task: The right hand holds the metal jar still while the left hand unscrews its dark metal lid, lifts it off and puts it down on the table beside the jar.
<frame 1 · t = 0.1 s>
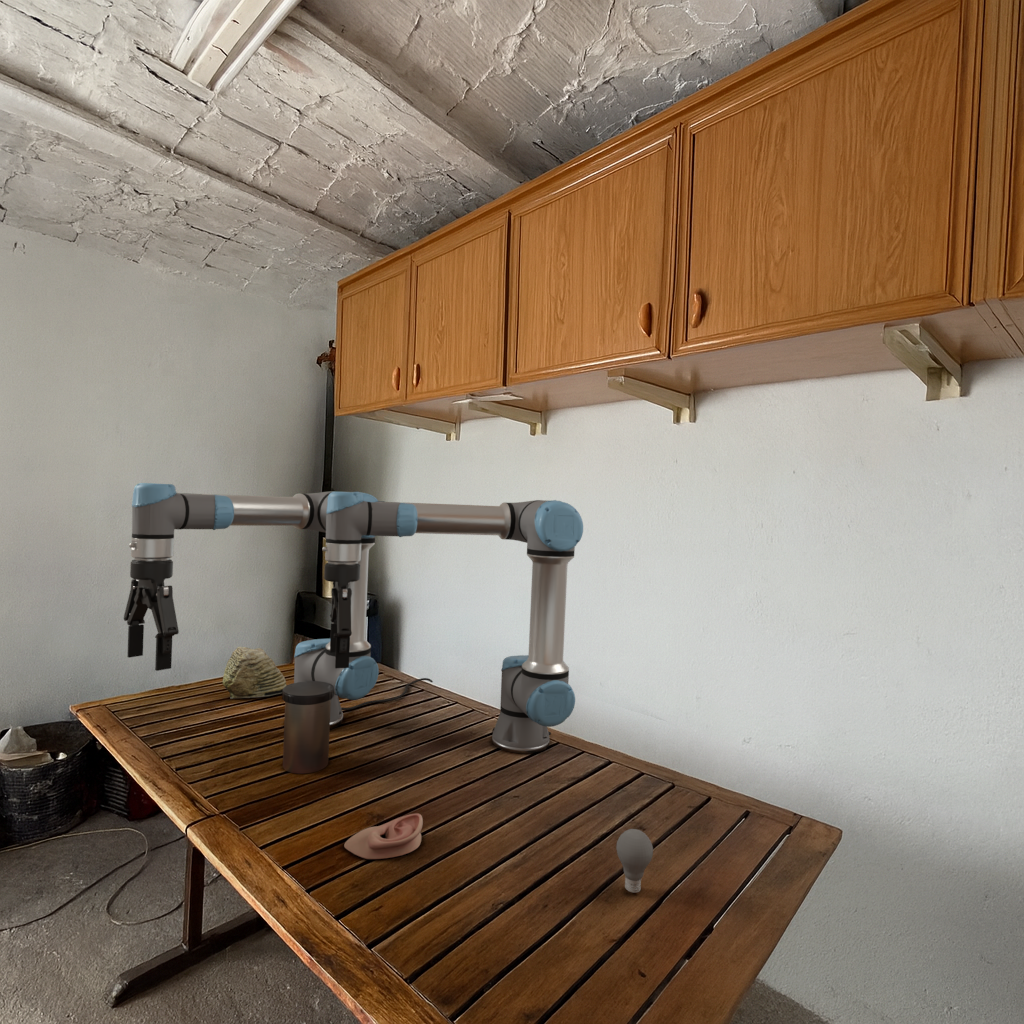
left hand: (148, 662, 129), 28 cm above the table, tool pointing down, fingers open, 13 cm apart
right hand: (338, 659, 138), 28 cm above the table, tool pointing down, fingers open, 13 cm apart
lid: (308, 689, 149), point 18 cm above the table, screwed on, not yet turned
anatomical model: (383, 844, 117), on the table
fossil: (254, 694, 198), on the table
light bulb: (632, 891, 106), on the table
jar: (305, 764, 149), on the table
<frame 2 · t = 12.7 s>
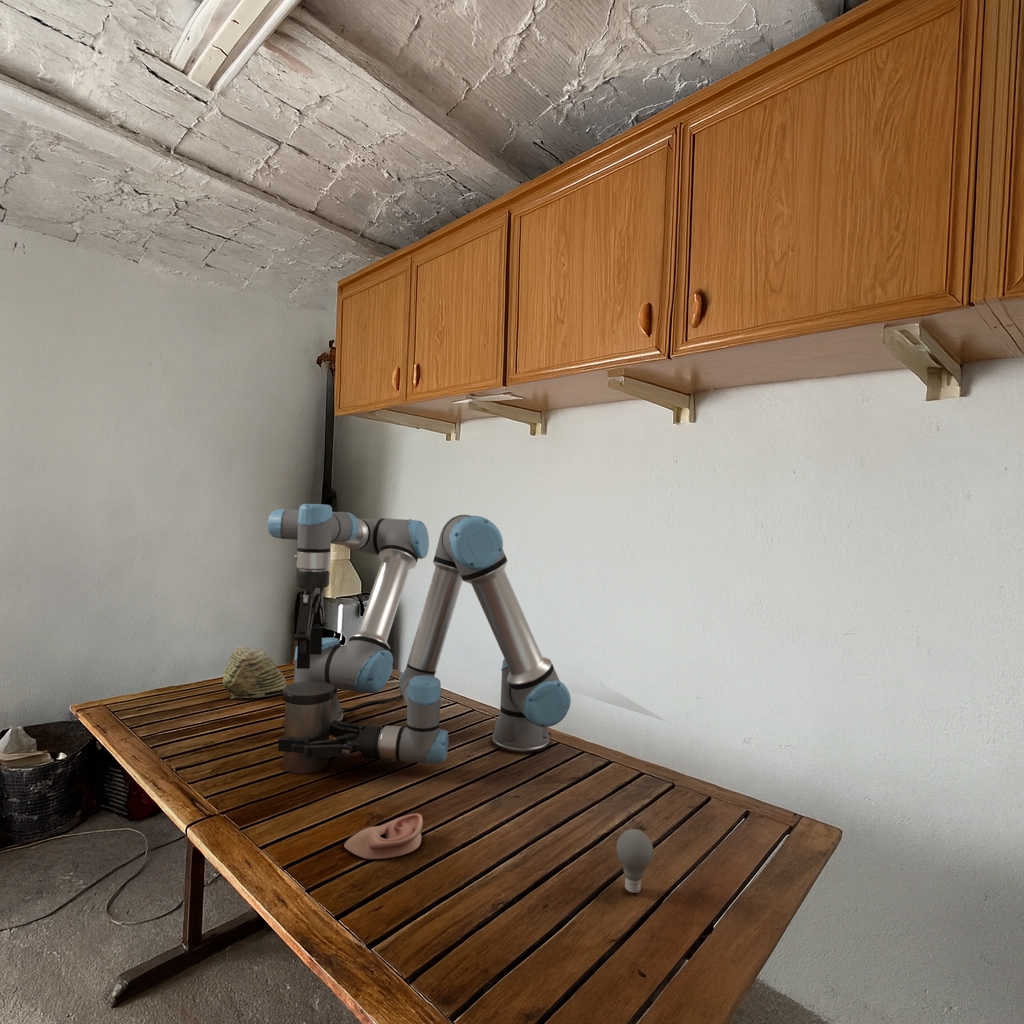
left hand: (309, 661, 149), 25 cm above the table, tool pointing down, fingers open, 12 cm apart
right hand: (289, 735, 150), 7 cm above the table, tool horizontal, fingers closed on jar, 10 cm apart
jar: (305, 764, 149), on the table, touching right hand
everything else where it was.
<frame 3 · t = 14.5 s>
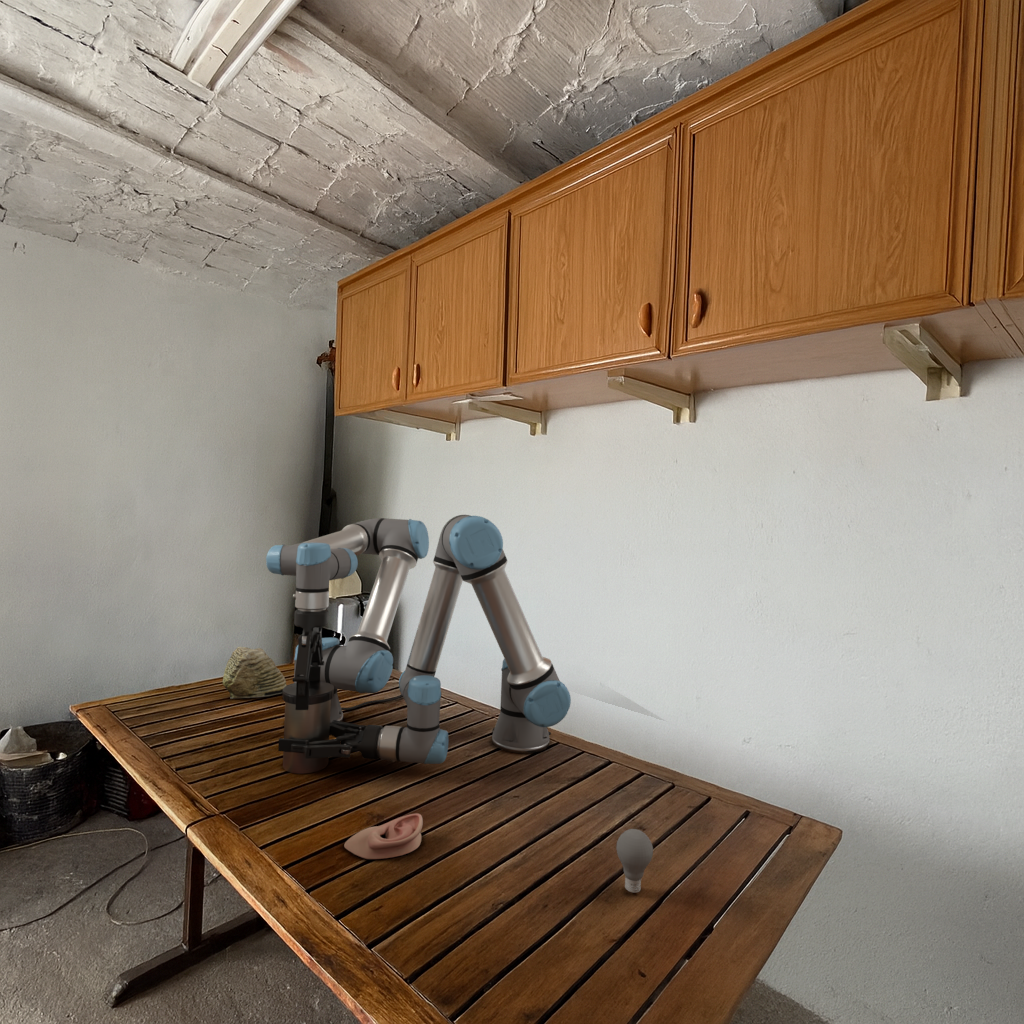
left hand: (308, 701, 149), 15 cm above the table, tool pointing down, fingers closed on lid, 11 cm apart
right hand: (289, 735, 150), 6 cm above the table, tool horizontal, fingers closed on jar, 10 cm apart
lid: (308, 689, 149), point 18 cm above the table, screwed on, not yet turned, touching left hand
jar: (305, 764, 149), on the table, touching right hand
everything else where it was.
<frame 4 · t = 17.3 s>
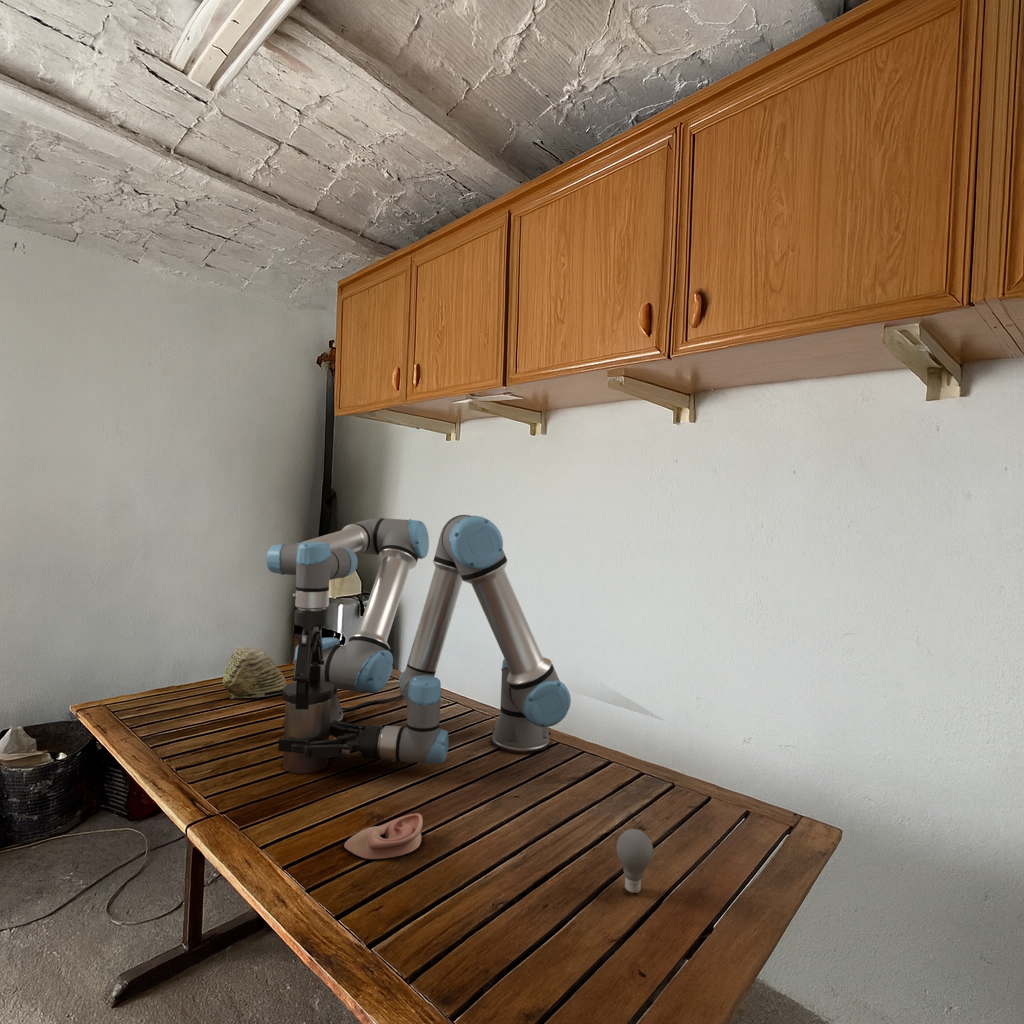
left hand: (308, 700, 149), 15 cm above the table, tool pointing down, fingers closed on lid, 11 cm apart
right hand: (289, 735, 150), 6 cm above the table, tool horizontal, fingers closed on jar, 10 cm apart
lid: (308, 688, 149), point 18 cm above the table, turned 79° so far, risen 0.2 cm, still on its thread, touching left hand
jar: (305, 764, 149), on the table, touching right hand
everything else where it was.
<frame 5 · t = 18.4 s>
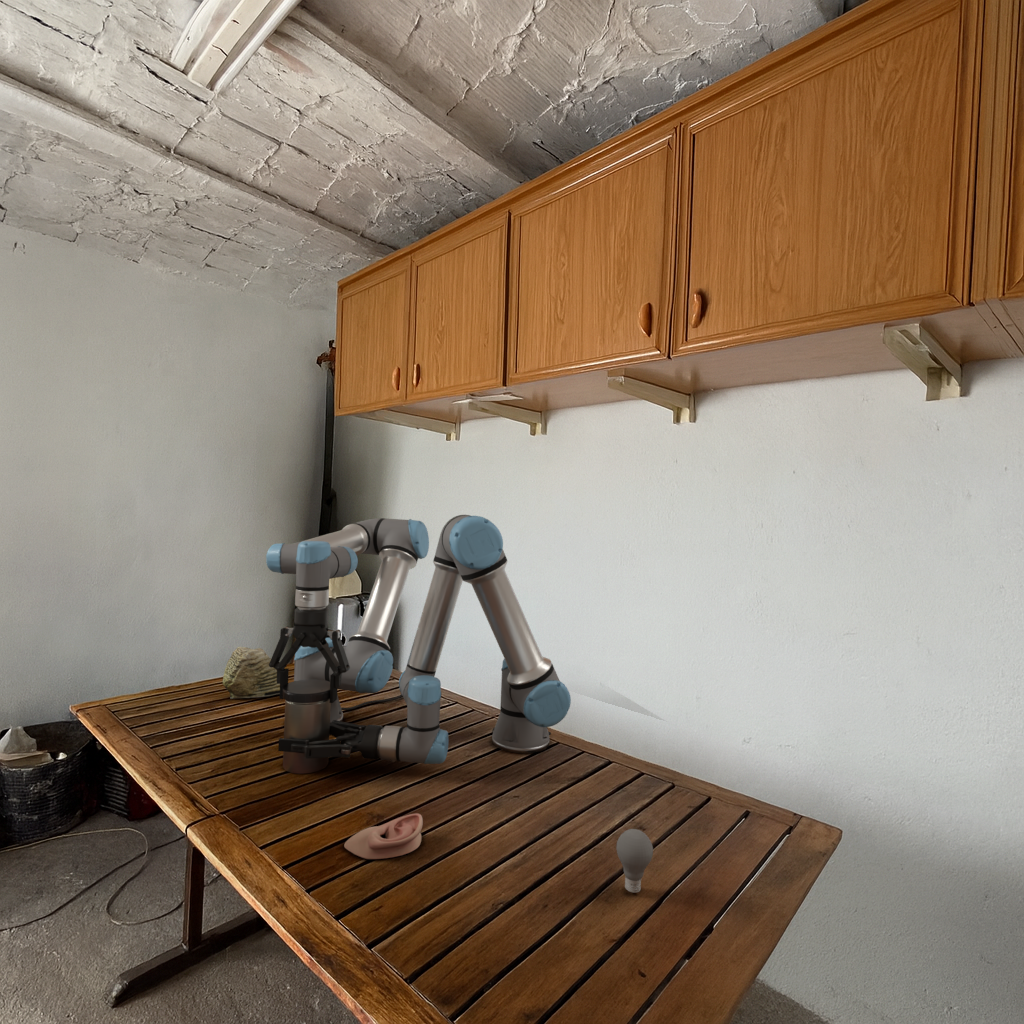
left hand: (308, 699, 149), 15 cm above the table, tool pointing down, fingers closed on lid, 11 cm apart
right hand: (289, 735, 150), 6 cm above the table, tool horizontal, fingers closed on jar, 10 cm apart
lid: (308, 687, 149), point 18 cm above the table, off its thread, touching left hand
jar: (305, 764, 149), on the table, touching right hand
everything else where it was.
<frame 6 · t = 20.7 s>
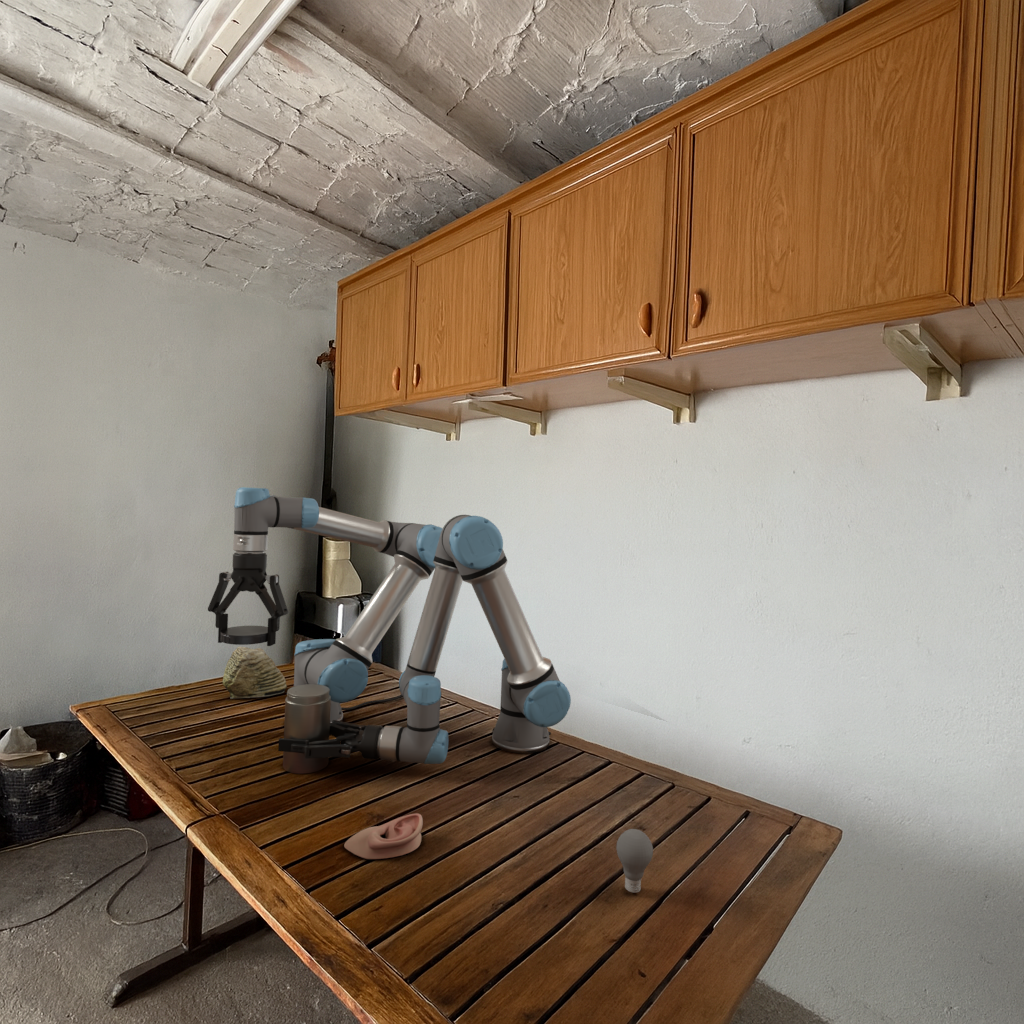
left hand: (246, 643, 151), 27 cm above the table, tool pointing down, fingers closed on lid, 11 cm apart
right hand: (289, 735, 150), 6 cm above the table, tool horizontal, fingers closed on jar, 10 cm apart
lid: (247, 631, 151), point 30 cm above the table, off its thread, touching left hand
jar: (305, 764, 149), on the table, touching right hand
everything else where it was.
when the left hand's fingers open (0 cm above the table, at t = 24.1 s): lid drops 1 cm, point 2 cm above the table.
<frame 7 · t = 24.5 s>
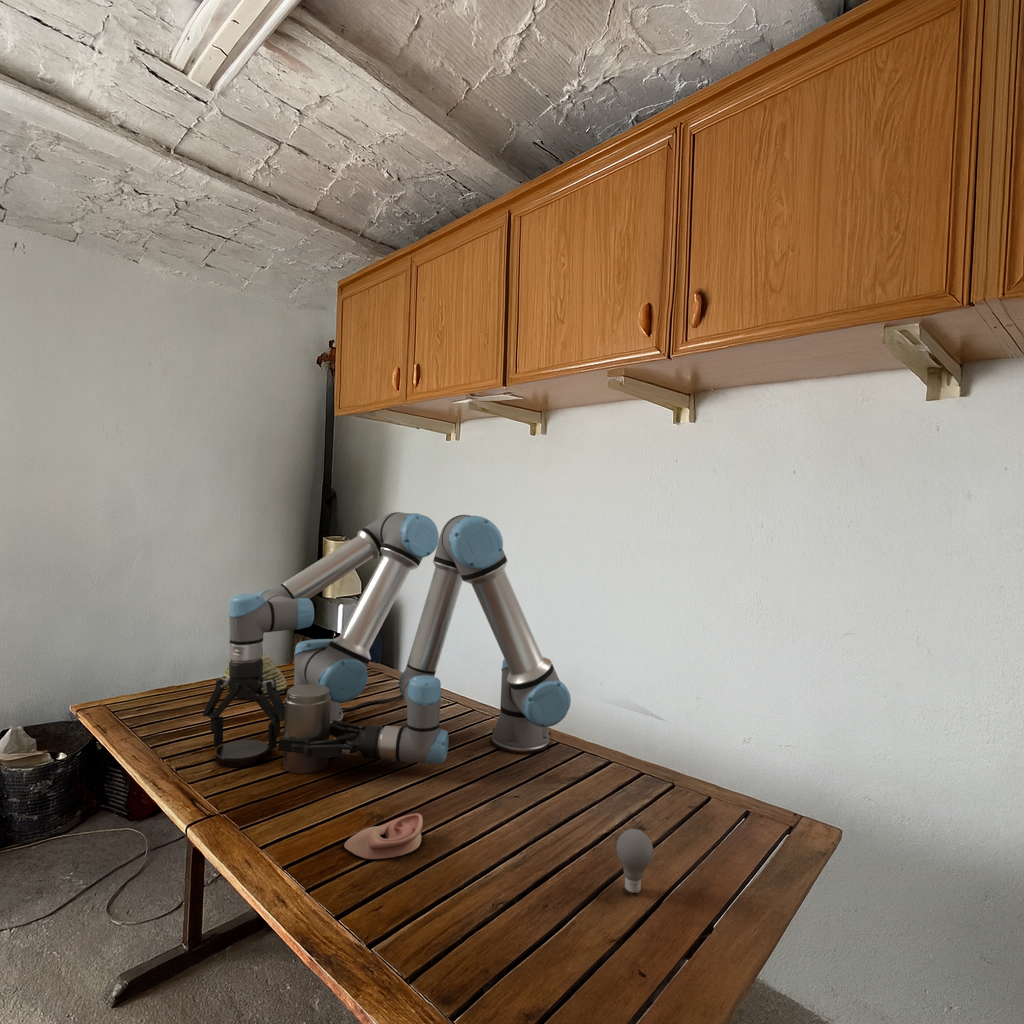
left hand: (245, 747, 152), 2 cm above the table, tool pointing down, fingers open, 13 cm apart
right hand: (289, 735, 150), 7 cm above the table, tool horizontal, fingers closed on jar, 10 cm apart
lid: (242, 750, 152), point 2 cm above the table, off its thread
jar: (305, 764, 149), on the table, touching right hand
everything else where it was.
when the right hand's fingers open (7 cm above the table, at t = 25.1 s): jar stays where it is, on the table.
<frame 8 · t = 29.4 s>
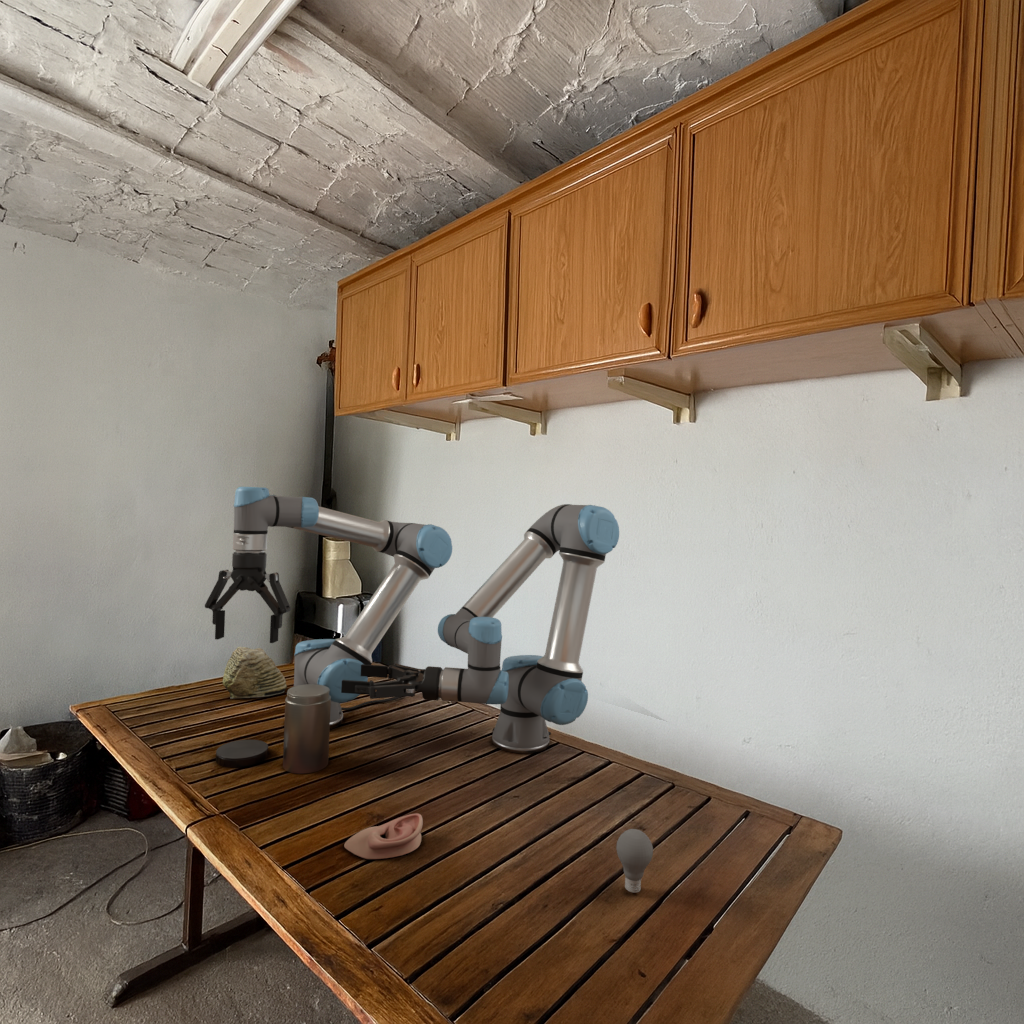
left hand: (246, 640, 151), 28 cm above the table, tool pointing down, fingers open, 13 cm apart
right hand: (351, 677, 148), 21 cm above the table, tool horizontal, fingers open, 13 cm apart
jar: (305, 764, 149), on the table
everything else where it was.
at the end: lid came off its thread; lid point 1.8 cm above the table; the left hand is holding nothing; the right hand is holding nothing; jar tilted 0°; jar moved 0.0 cm from its start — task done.
